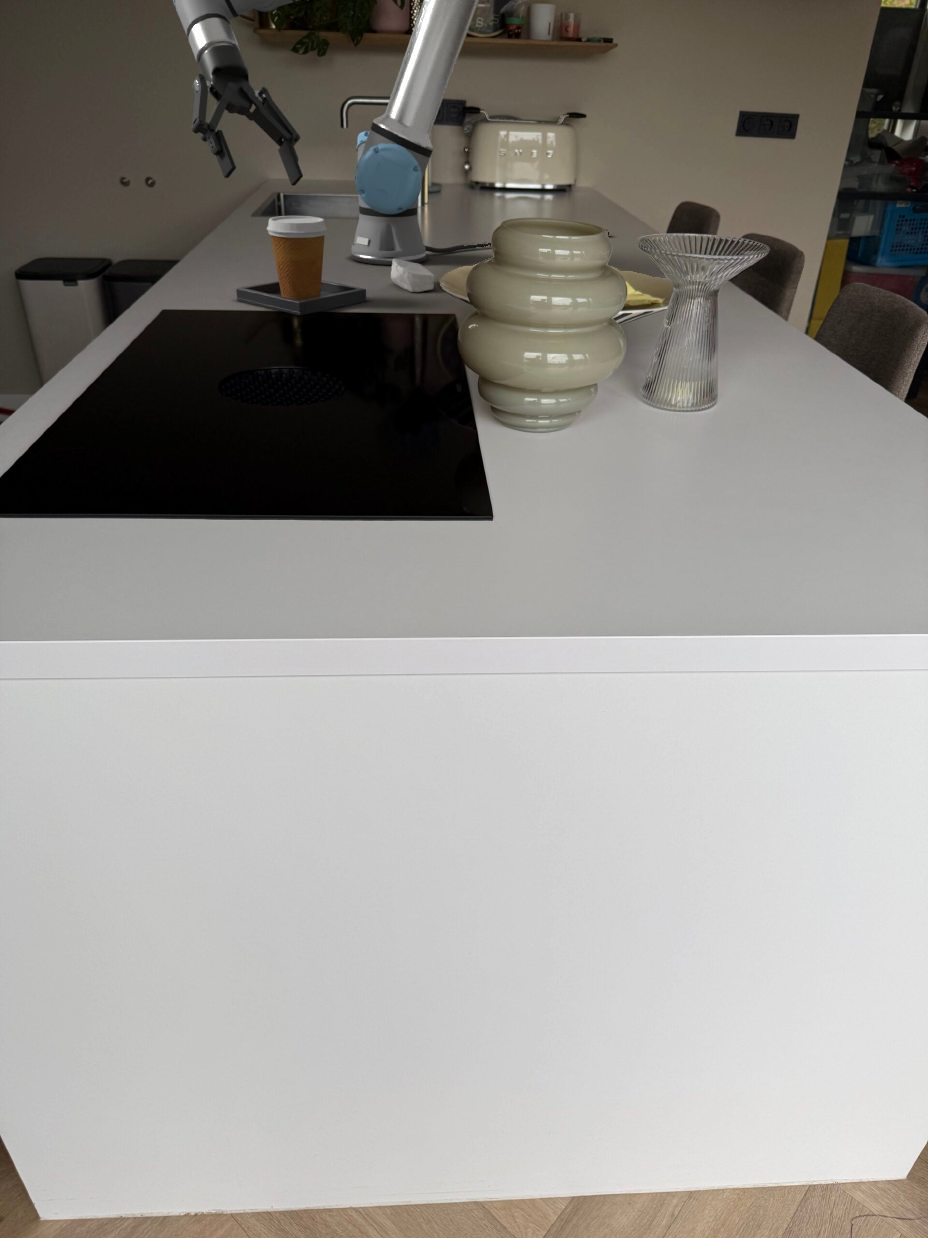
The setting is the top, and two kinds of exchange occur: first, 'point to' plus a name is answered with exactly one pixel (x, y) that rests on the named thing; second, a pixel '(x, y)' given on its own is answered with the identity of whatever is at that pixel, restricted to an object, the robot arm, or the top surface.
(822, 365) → the top surface
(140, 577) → the top surface
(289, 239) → the disposable coffee cup
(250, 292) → the pad
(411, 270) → the white rock
